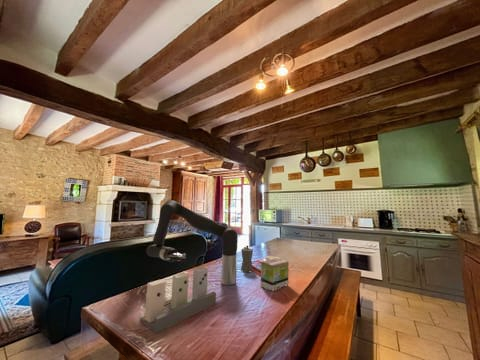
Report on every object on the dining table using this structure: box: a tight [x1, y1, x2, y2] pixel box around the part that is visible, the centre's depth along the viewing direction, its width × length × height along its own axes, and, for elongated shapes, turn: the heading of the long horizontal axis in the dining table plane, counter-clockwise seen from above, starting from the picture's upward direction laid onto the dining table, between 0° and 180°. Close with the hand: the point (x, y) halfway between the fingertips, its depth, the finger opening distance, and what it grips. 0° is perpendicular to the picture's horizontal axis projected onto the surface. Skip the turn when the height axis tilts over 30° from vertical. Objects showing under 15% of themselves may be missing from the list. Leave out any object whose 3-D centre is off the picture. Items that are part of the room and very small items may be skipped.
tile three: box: [191, 266, 209, 300], centre depth 102 cm, size 4×6×14 cm
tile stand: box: [139, 291, 217, 334], centre depth 91 cm, size 13×31×5 cm, turn 141°
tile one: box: [144, 278, 166, 323], centre depth 84 cm, size 4×6×14 cm
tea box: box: [260, 258, 289, 292], centre depth 122 cm, size 15×10×15 cm
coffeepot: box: [240, 245, 254, 273], centre depth 153 cm, size 15×9×18 cm, turn 13°
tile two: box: [170, 272, 190, 309], centre depth 93 cm, size 4×6×14 cm
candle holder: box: [265, 255, 281, 261], centre depth 141 cm, size 10×10×12 cm
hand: (185, 259), depth 111 cm, fingers closed
